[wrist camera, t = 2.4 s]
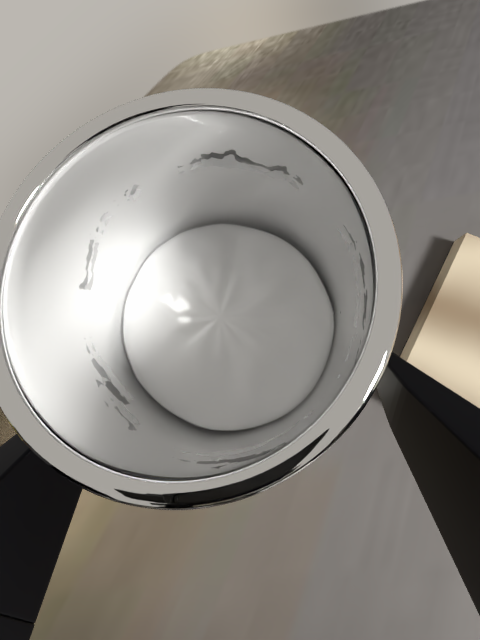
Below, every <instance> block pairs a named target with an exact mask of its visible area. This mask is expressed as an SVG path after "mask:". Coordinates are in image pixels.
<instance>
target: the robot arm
mask: <svg viewBox="0 0 480 640" xmlns="http://www.w3.org/2000/svg"><path fill="white" fill-rule="evenodd" d="M377 390H378V393H379V396H380V399H381V402H382V405H383V408H384V411H385V413H386V416H387V419H388V422H389V425H390V427H391V429H392V432H393V434H394V436H395V438H396V440H397V442H398V445H399V447H400V449H401V451H402V453H403V455H404V457H405V459H406V461H407V464H408V466H409V468H410V470H411V472H412V474H413V476H414V478H415V480H416V483H417V485H418V487H419V489H420V491H421V493H422V495H423V497H424V499H425V501H426V504H427V506H428V508H429V510H430V512H431V514H432V516H433V518H434V520H435V523H436V525H437V527H438V529H439V531H440V533H441V535H442V537H443V539H444V542H445V544H446V546H447V548H448V550H449V552H450V554H451V556H452V558H453V560H454V563H455V565H456V567H457V569H458V571H459V573H460V575H461V577H462V579H463V582H464V584H465V586H466V588H467V590H468V592H469V594H470V596H471V598H472V601H473V603H474V605H475V607H476V609H477V611H478V613H479V615H480V408H478V407H477V406H475V405H474V404H472V403H471V402H469V401H468V400H466V399H464V398H463V397H461V396H460V395H458V394H457V393H455V392H454V391H452V390H450V389H449V388H447V387H446V386H444V385H443V384H441V383H440V382H438V381H436V380H435V379H433V378H432V377H430V376H429V375H427V374H426V373H424V372H422V371H421V370H419V369H418V368H416V367H415V366H413V365H412V364H410V363H408V362H407V361H405V360H404V359H402V358H401V357H399V356H398V355H396V354H394V353H392V352H391V355H390V358H389V361H388V363H387V366H386V368H385V370H384V373H383V375H382V377H381V379H380V381H379V383H378V385H377ZM81 491H82V488H81V487H79V486H77V485H75V484H74V483H72V482H70V481H69V480H67V479H65V478H64V477H62V476H61V475H59V474H58V473H57V472H55V471H54V470H53V469H51V468H50V467H49V466H48V465H46V464H45V463H44V462H43V461H42V460H41V459H40V458H39V457H37V456H36V455H35V454H34V453H33V452H32V451H31V450H30V448H29V447H28V446H27V445H26V444H25V443H24V442H23V441H22V439H21V438H20V437H19V436H18V434H16V435H15V436H13V437H12V438H11V439H9V440H8V441H7V442H6V443H4V444H3V445H2V446H0V640H29V639H30V636H31V633H32V631H33V628H34V623H35V621H36V619H37V616H38V613H39V610H40V607H41V605H42V602H43V599H44V596H45V593H46V590H47V588H48V585H49V582H50V579H51V576H52V573H53V571H54V568H55V565H56V562H57V559H58V556H59V554H60V551H61V548H62V545H63V542H64V539H65V537H66V534H67V531H68V528H69V525H70V522H71V520H72V517H73V514H74V511H75V508H76V505H77V503H78V500H79V497H80V494H81Z"/></svg>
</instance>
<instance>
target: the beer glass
mask: <svg viewBox="0 0 480 640" xmlns="http://www.w3.org/2000/svg"><path fill="white" fill-rule="evenodd" d="M402 295H403V275H402V262H401V254H400V248H399V242H398V238H397V234H396V230H395V227H394V223H393V220H392V217H391V215H390V212H389V209H388V207H387V205H386V202H385V200H384V198H383V196H382V194H381V192H380V190H379V188H378V187H377V185H376V183H375V181H374V180H373V178H372V177H371V175H370V174H369V172H368V171H367V169H366V168H365V166H364V165H363V164H362V162H361V161H360V160H359V159H358V157H357V156H356V155H355V154H354V153H353V152H352V151H351V149H350V148H349V147H348V146H347V145H346V144H345V143H344V142H343V141H341V140H340V139H339V138H338V137H337V136H336V135H335V134H334V133H332V132H331V131H330V130H329V129H327V128H326V127H325V126H323V125H322V124H320V123H319V122H318V121H316V120H315V119H313V118H311V117H310V116H308V115H306V114H305V113H303V112H301V111H299V110H297V109H295V108H293V107H291V106H289V105H286V104H284V103H281V102H279V101H276V100H273V99H271V98H267V97H264V96H261V95H257V94H253V93H248V92H243V91H237V90H229V89H218V88H195V89H182V90H175V91H168V92H163V93H158V94H154V95H150V96H147V97H143V98H140V99H137V100H134V101H131V102H128V103H126V104H123V105H121V106H118V107H116V108H114V109H112V110H110V111H107V112H106V113H104V114H102V115H100V116H98V117H96V118H94V119H93V120H91V121H89V122H88V123H86V124H85V125H83V126H82V127H80V128H79V129H77V130H76V131H74V132H73V133H72V134H70V135H69V136H68V137H66V138H65V139H64V140H63V141H61V142H60V143H59V144H58V145H57V146H56V147H55V148H53V149H52V150H51V151H50V152H49V153H48V154H47V155H46V156H45V157H44V158H43V159H42V160H41V161H40V162H39V163H38V164H37V165H36V166H35V168H34V169H33V170H32V171H31V172H30V174H29V175H28V176H27V177H26V178H25V180H24V181H23V183H22V184H21V185H20V187H19V188H18V190H17V191H16V192H15V194H14V196H13V197H12V199H11V200H10V202H9V204H8V206H7V207H6V209H5V211H4V213H3V215H2V217H1V219H0V408H1V410H2V411H3V413H4V415H5V417H6V418H7V420H8V421H9V423H10V424H11V426H12V427H13V429H14V430H15V432H16V433H17V434H18V436H19V437H20V438H21V439H22V441H23V442H24V443H25V444H26V445H27V446H28V447H29V448H30V450H31V451H32V452H33V453H34V454H35V455H36V456H37V457H39V458H40V459H41V460H42V461H43V462H44V463H45V464H46V465H48V466H49V467H50V468H51V469H53V470H54V471H55V472H57V473H58V474H59V475H61V476H62V477H64V478H65V479H67V480H69V481H70V482H72V483H74V484H75V485H77V486H79V487H81V488H83V489H85V490H87V491H89V492H91V493H93V494H96V495H98V496H101V497H103V498H106V499H109V500H112V501H115V502H119V503H122V504H126V505H130V506H135V507H141V508H148V509H157V510H193V509H202V508H210V507H215V506H220V505H225V504H229V503H233V502H236V501H239V500H243V499H246V498H248V497H251V496H254V495H256V494H259V493H261V492H263V491H266V490H268V489H270V488H272V487H274V486H276V485H278V484H280V483H282V482H284V481H286V480H287V479H289V478H291V477H292V476H294V475H295V474H297V473H299V472H300V471H302V470H303V469H304V468H306V467H307V466H308V465H310V464H311V463H313V462H314V461H315V460H316V459H318V458H319V457H320V456H321V455H323V454H324V453H325V452H326V451H327V450H328V449H329V448H330V447H331V446H332V445H333V444H334V443H335V442H336V441H337V440H338V439H339V438H340V437H341V436H342V435H343V434H344V433H345V432H346V431H347V429H348V428H349V427H350V426H351V425H352V423H353V422H354V421H355V420H356V418H357V417H358V416H359V414H360V413H361V411H362V410H363V409H364V407H365V406H366V404H367V402H368V401H369V399H370V398H371V396H372V394H373V392H374V391H375V389H376V387H377V385H378V383H379V381H380V379H381V377H382V375H383V373H384V370H385V368H386V366H387V363H388V361H389V358H390V355H391V352H392V349H393V346H394V342H395V339H396V335H397V331H398V326H399V320H400V314H401V307H402Z"/></svg>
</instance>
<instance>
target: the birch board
mask: <svg viewBox="0 0 480 640" xmlns="http://www.w3.org/2000/svg"><path fill="white" fill-rule="evenodd" d="M400 357H401V358H402V359H404V360H405V361H407V362H408V363H410V364H412V365H413V366H415V367H416V368H418V369H419V370H421V371H422V372H424V373H426V374H427V375H429V376H430V377H432V378H433V379H435V380H436V381H438V382H440V383H441V384H443V385H444V386H446V387H447V388H449V389H450V390H452V391H454V392H455V393H457V394H458V395H460V396H461V397H463V398H464V399H466V400H468V401H469V402H471V403H472V404H474V405H475V406H477V407H478V408H480V238H478V237H476V236H473V235H471V234H468V233H466V234H464V235H463V236H461V237H460V238H459V239H457V240H456V241H454V243H453V245H452V247H451V249H450V252H449V254H448V256H447V258H446V260H445V262H444V264H443V266H442V269H441V271H440V273H439V275H438V277H437V279H436V281H435V283H434V286H433V288H432V290H431V292H430V294H429V296H428V298H427V300H426V303H425V305H424V307H423V309H422V311H421V313H420V315H419V317H418V320H417V322H416V324H415V326H414V328H413V330H412V332H411V334H410V337H409V339H408V341H407V343H406V345H405V347H404V349H403V351H402V353H401V356H400Z"/></svg>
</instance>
